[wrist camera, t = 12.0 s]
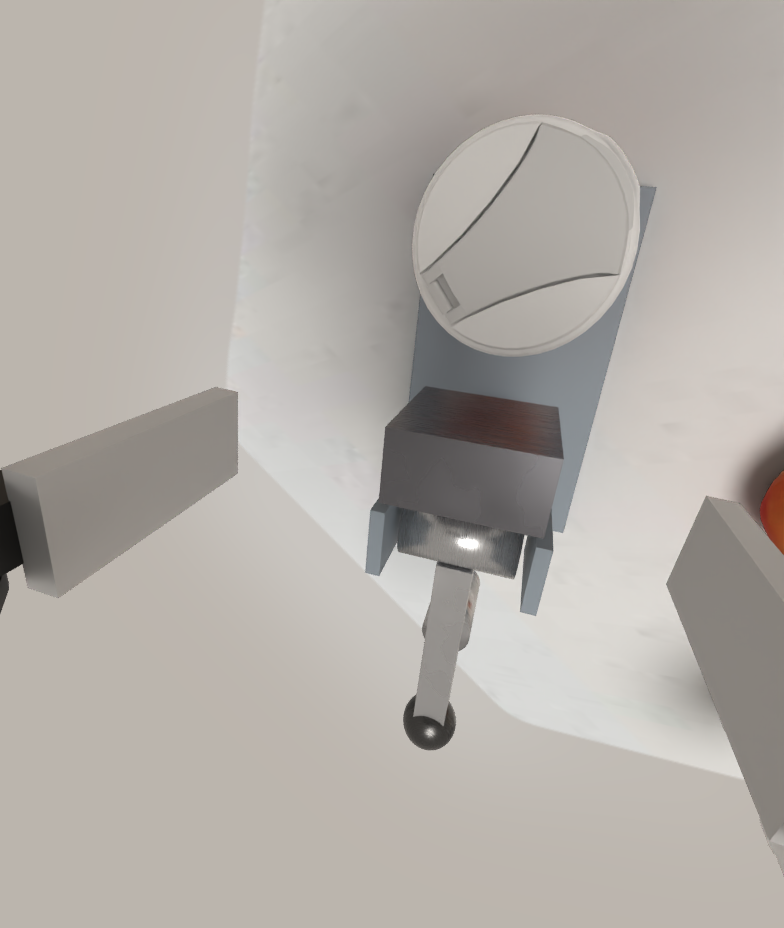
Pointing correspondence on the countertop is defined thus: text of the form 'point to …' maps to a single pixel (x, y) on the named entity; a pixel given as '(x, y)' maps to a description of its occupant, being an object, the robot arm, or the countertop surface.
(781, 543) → the tomato
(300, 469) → the countertop surface
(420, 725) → the lever
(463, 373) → the frame
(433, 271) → the coffee cup
